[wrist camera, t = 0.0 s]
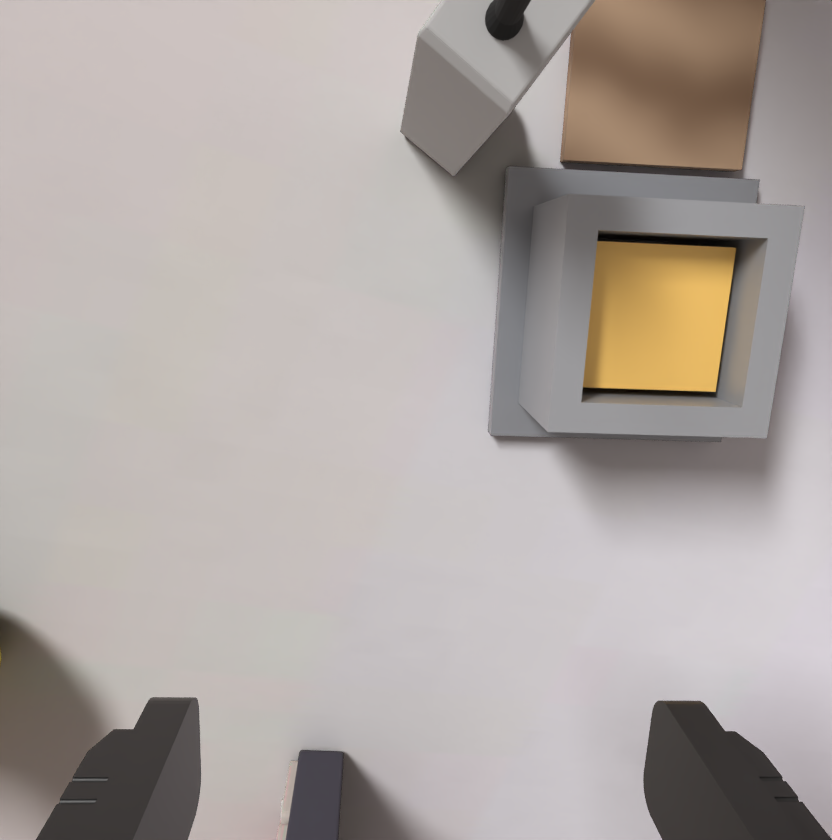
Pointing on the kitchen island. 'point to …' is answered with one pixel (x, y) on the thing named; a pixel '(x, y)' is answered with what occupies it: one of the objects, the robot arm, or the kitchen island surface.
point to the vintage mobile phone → (479, 69)
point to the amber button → (657, 316)
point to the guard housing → (572, 292)
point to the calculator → (312, 797)
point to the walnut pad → (662, 83)
